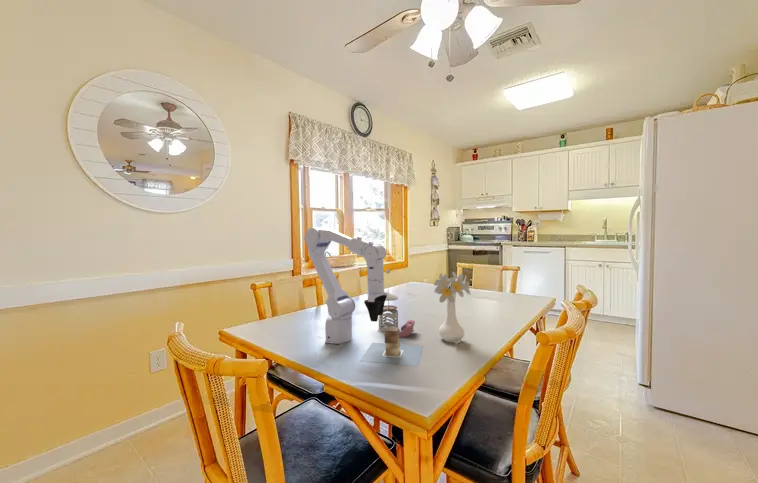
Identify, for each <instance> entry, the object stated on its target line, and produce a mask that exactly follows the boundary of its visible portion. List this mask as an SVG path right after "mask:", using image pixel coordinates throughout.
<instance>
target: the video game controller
mask: <svg viewBox="0 0 758 483" xmlns="http://www.w3.org/2000/svg"><path fill="white" fill-rule="evenodd" d="M415 323H416V322H415V320H414V319H409V320H407V321H406V323H404V324H403V325H402V326H401V328H400V330H401V332H400V333H399V338H407V337H409V336H410V335H411V334H412V333H414V332H415V329H414V327H415Z"/></svg>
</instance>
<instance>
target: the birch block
mask: <svg viewBox="0 0 758 483" xmlns="http://www.w3.org/2000/svg"><path fill="white" fill-rule="evenodd" d="M384 343H385V342H384ZM400 345H401V339H400V338H399V341H398V343H397V344H395V343H385V350H386V355H390V356H398V355H399V352H400Z"/></svg>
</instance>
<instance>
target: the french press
mask: <svg viewBox="0 0 758 483" xmlns="http://www.w3.org/2000/svg"><path fill="white" fill-rule="evenodd" d="M390 273H391V271H390V269H386V270H385V274H390ZM386 295H387V298H386V300H385V302H386V301H387V305H384V308H383V314H382V315H378V320H377V321H378V328H377V330H376V333H385V329H386V328H387V327H399V310H398V306H395V305H390V302H391V301H397V300H398V299H399V296H397V295H396V294H393V293H389V292H388V294H386ZM389 301H390V302H389ZM400 332H402V331H401V328H399V333H400Z"/></svg>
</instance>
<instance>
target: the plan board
mask: <svg viewBox="0 0 758 483" xmlns="http://www.w3.org/2000/svg"><path fill="white" fill-rule="evenodd" d="M423 347H424V346H423V345H412V344H400V352H399V355H398V356H390V355H386V350H385V342H384V343H382V342H371V343H370V345H369V346H368V348H367V349H366V351H365V352H364V354H363V355H362V357H361V358H360V359H359V362H361V363H362V362H365V363H374V364H375V363H376V364H377V363H378V364H386V365H400V366H401V365H402V366H410V367H411V366H413V367H418V366H419V363H420V359H421V354H422V350H423Z"/></svg>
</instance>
